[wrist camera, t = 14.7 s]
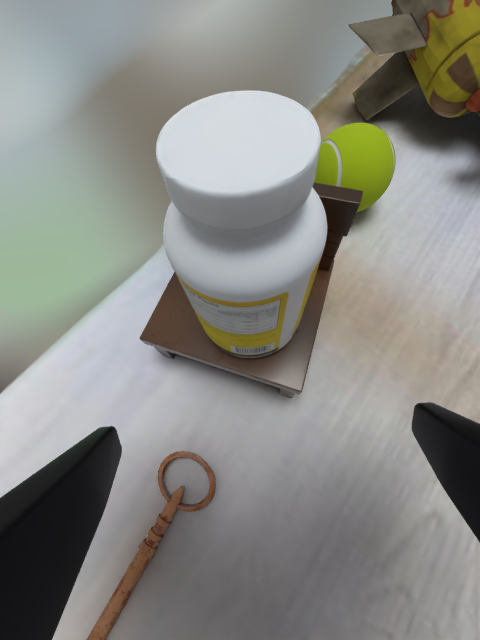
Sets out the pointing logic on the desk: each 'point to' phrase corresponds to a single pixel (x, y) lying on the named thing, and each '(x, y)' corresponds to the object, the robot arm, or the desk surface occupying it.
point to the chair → (293, 359)
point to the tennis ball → (357, 161)
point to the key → (149, 545)
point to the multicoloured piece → (424, 56)
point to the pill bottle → (244, 215)
